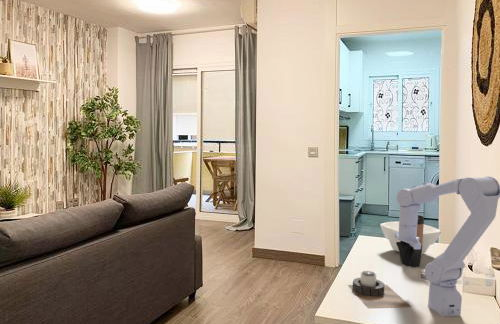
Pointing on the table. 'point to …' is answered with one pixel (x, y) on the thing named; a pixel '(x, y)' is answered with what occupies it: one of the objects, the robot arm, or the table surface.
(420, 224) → the travel mug
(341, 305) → the table surface
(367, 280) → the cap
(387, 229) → the bowl
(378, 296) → the socket board
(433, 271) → the robot arm
